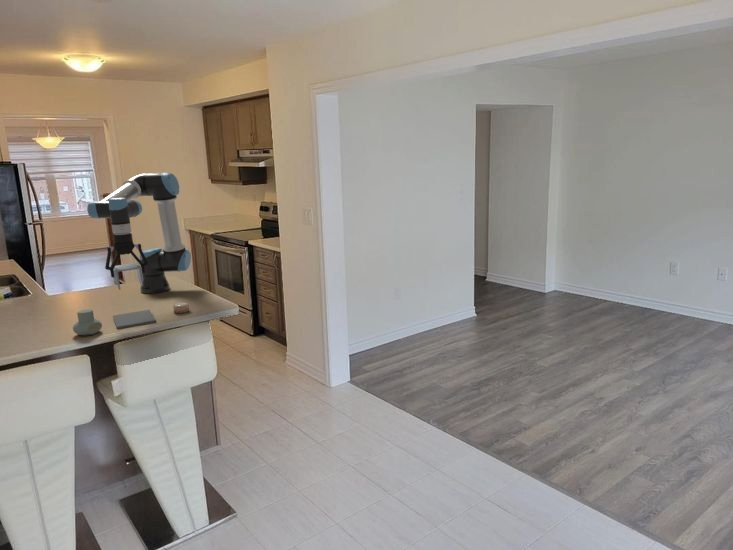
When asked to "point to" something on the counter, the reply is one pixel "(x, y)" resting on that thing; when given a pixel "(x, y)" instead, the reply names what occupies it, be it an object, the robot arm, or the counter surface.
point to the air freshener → (86, 323)
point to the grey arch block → (129, 267)
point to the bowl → (181, 307)
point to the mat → (133, 319)
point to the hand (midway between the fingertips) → (129, 282)
